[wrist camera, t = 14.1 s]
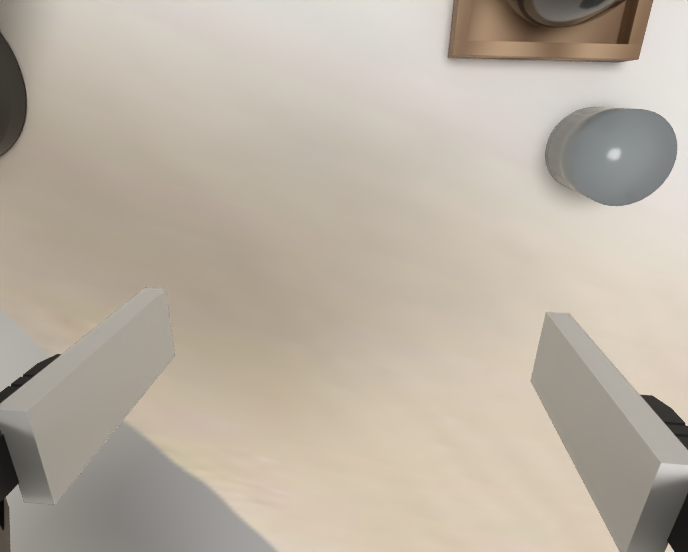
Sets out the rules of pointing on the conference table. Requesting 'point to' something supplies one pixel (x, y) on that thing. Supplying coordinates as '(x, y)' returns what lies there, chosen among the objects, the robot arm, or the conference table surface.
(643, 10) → the tray
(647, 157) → the grey round-ended cylinder
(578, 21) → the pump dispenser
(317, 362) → the conference table surface
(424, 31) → the conference table surface
